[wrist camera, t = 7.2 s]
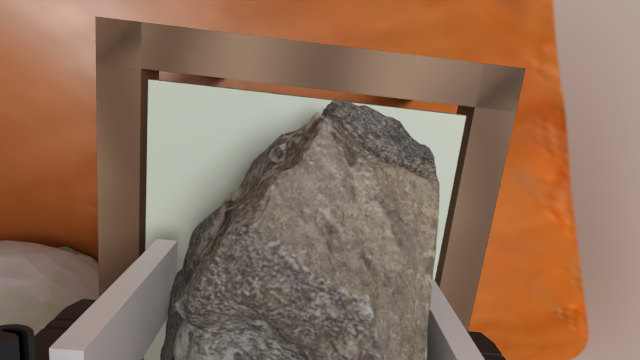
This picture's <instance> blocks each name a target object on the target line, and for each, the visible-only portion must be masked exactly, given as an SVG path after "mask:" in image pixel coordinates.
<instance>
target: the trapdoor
mask: <svg viewBox="0 0 640 360" xmlns="http://www.w3.org/2000/svg"><path fill="white" fill-rule="evenodd" d="M332 101H333V100H329V99H320V98H312V97H303V96H294V95H285V94H277V93H268V92H259V91H250V90H242V89H233V88H224V87H215V86H207V85H198V84H189V83H180V82H172V81H163V80H148V123H147V183H146V244H145V251H146V250H147V249H148V248H149V247H150V246H151V245H152V244H153V243H154V242H155V241H156V240H157V239H164V240H175V241H178V242H177V270H176V275H177V273H178V272H179V270H180V269H182V267H183V262H184V258H185V255H186V252H187V250H188V247H189V241H190V238H191V235H192V232H193V230H194V229H195V228H196V227H197V226H198V224H199V223H200V222H202V221H203V220H204V219H206V218H207V217H208V216H209V215H210V214H211V213H212V212H214V211H215V210H217V209H218V208H219V207H221V206H222V204H223V203H224V201H225V200H226V199H227V198H228V197H229V196H230V195H231V193H232V192H234V191H235V190H236V189H238V188H239V186H240V184H241V183H242V181H243V179H244V177H245V175H246V172H247V171H248V169H249V168H250V166H251V164H252V162H253V160H254V159H255V158H257V157H258V156H259V155H260V154H261V153H262V152H263V151H265V150H266V149H267V148H268V146H270V145H271V144H272V143H273V142H274V141H275V140H276V139H277V138H278V137H280V136H281V135H282V134H285V133H289V132H293V131H297V130H298V129H300V128H301V127H303V126H304V125H306V124H308V123H309V121H310V119H311V117H312V116H313V115H314V114H315V113H316V112H319V113H320V114H322V112H323V110H324V108H326V106H327V105H328V104H330V103H331V102H332ZM344 102H347V101H344ZM352 103H353V104H355V105H358V106H362V105H366V106H368V107H370V108H372V109H374V110H376V111H378V112H380V113H381V114H383V115H385V116H388V117H392V118H395V119H396V120H398V121H400V122H401V123H402V125H403V126H404V128H405V129H406V131H407V132H408V133H409V134H410V136H411V137H412V138H413V139H414V140H416V141H417V142H418V143H420V144H423V145H426V146H427V147H428V148H429V147H430V150H431V152H432V153H433V155H434V159H435V165H436V175H437V177H438V181H439V184H440V190H439V221H438V231H437V243H436V256H435V263H434V270H433V279H434V280H435V276H436V271H437V266H438V261H439V255H440V250H441V245H442V240H443V235H444V229H445V224H446V219H447V214H448V209H449V203H450V198H451V193H452V188H453V183H454V177H455V172H456V167H457V162H458V157H459V151H460V146H461V141H462V136H463V131H464V125H465V120H466V116H465V115H459V114H452V113H443V112H434V111H425V110H417V109H408V108H399V107H390V106H382V105H373V104H364V103H355V102H352ZM166 323H167V319H166V321H165V323H164V324H163V326H162V328H161V329H160V331H159V332H158V334H157V336H156V337H155V339H154V341H153V342H152V344H151V345H150V347H149V349H148V350H147V352H146V354H145V355H144V360H160V353H161V349H162V346H163V344H164V341H165V333H166Z"/></svg>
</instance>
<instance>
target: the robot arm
mask: <svg viewBox="0 0 640 360" xmlns="http://www.w3.org/2000/svg"><path fill="white" fill-rule="evenodd" d="M177 242H178V241H175V240H164V239H157V240H156V241H155V242H154V243H153V244H152V245H151V246H150V247H149V248H148V249H147V250H146V251H145V252H144V253H143V254H142V255H141V256H140V257H139V258H138V259H137V260H136V261H135V262H134V263H133V264H132V265H131V266H130V267H129V268H128V269H127V270H126V271H125V272H124V273H123V274H122V275H121V276H120V277H119V278H118V279H117V280H116V281H115V282H114V283H113V284H112V285H111V286H110V287H109V288H108V289H107V290H106V291H105V292H104V293H103V294H102V295H101V296H100V297H99V298H98V299H97V300H92V299H81V300H79V301H77V302H75V303H73V304H71V305H69V306H67V307H66V308H65V309H63V310H62V311H61V312H60V313H59V314H58V315H57V316H56V317H55V318H54V320H51V321H50V322H49V323H48V324H47V325H46V326H45V328H43V329H41V330H40V331H39V332H38V333H37V334H36V335H35V336H34V330H33V329H32V328H30V327H29V326H26V325H21V324H6V325H0V360H142V359H143V357H144V355H145V354H146V352H147V350H148V349H149V347H150V345H151V344H152V342H153V341H154V339H155V337H156V336H157V334H158V332H159V331H160V329H161V328H162V326H163V324H164V323H165V321H166V319H167V318H168V307H169V302H170V294H171V290H172V286H173V283H174V280H175V277H176V270H177ZM427 360H506V359H505V358H504V357H502V354H501V352H500V351H499V349H498V348H497V347H496V345H495V344H494V343H493V342H492V341H491V340H490V339H488V338H487V337H486V336H484V335H483V334H482V333H481V332H470V331H466V329H465V328H464V326H463V325H462V323H461V321H460V320H459V318H458V317H457V315H456V313H455V312H454V310H453V309H452V307H451V306H450V304H449V302H448V301H447V299H446V298H445V296H444V295H443V293H442V291H441V290H440V288H439V287H438V285H437V283H436V282H435V280H434V279H432V291H431V305H430V310H429V315H428V328H427Z"/></svg>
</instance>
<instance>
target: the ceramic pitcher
mask: <svg viewBox="0 0 640 360" xmlns="http://www.w3.org/2000/svg"><path fill="white" fill-rule="evenodd" d="M98 298H99V272H98V262H97V261H96V260H95V259H93V258H92V257H90V256H88V255H85V254H83V253H80V252H78V251H75V250H73V249H71V248H69V247H67V246H65V247H59V248H53V247H50V246H46V245H42V244H38V243H31V242H20V241H9V240H6V241H0V325H6V324H21V325H26V326H29V327H30V328H32V329H33V330H34V336H35V335H36V334H37V333H38V332H39V331H40V330H41V329H43V328H45V326H46V325H47V324H48V323H49V322H50V321H51V320H54V318H55V317H56V316H57V315H58V314H59V313H60V312H61V311H62V310H63V309H65V308H66V307H67V306H69V305H71V304H73V303H75V302H77V301H79V300H81V299H92V300H97V299H98Z"/></svg>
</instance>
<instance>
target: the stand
mask: <svg viewBox="0 0 640 360" xmlns="http://www.w3.org/2000/svg"><path fill="white" fill-rule="evenodd" d="M525 69H526V68H517V67H509V66H501V65H492V64H484V63H476V62H468V61H459V60H451V59H443V58H434V57H426V56H418V55H410V54H401V53H393V52H385V51H376V50H368V49H360V48H352V47H343V46H335V45H327V44H318V43H310V42H302V41H294V40H285V39H277V38H269V37H260V36H252V35H244V34H235V33H227V32H219V31H211V30H202V29H194V28H186V27H177V26H169V25H161V24H153V23H144V22H136V21H128V20H119V19H111V18H103V17H96V100H97V186H98V272H99V297H100V296H101V295H102V294H103V293H104V292H105V291H106V290H107V289H108V288H109V287H110V286H111V285H112V284H113V283H114V282H115V281H116V280H117V279H118V278H119V277H120V276H121V275H122V274H123V273H124V272H125V271H126V270H127V269H128V268H129V267H130V266H131V265H132V264H133V263H134V262H135V261H136V260H137V259H138V258H139V257H140V256H141V255H142V254H143V253H144V252H145V244H146V183H147V123H148V80H159V71H166V72H174V73H183V74H192V75H200V76H209V77H218V78H226V79H235V80H244V81H252V82H261V83H270V84H278V85H287V86H296V87H304V88H313V89H322V90H330V91H339V92H348V93H356V94H365V95H374V96H382V97H391V98H400V99H408V100H417V101H426V102H434V103H443V104H452V105H458V109H457V114H459V115H465V116H466V120H465V125H464V131H463V136H462V141H461V146H460V151H459V157H458V162H457V167H456V172H455V177H454V183H453V188H452V193H451V198H450V203H449V209H448V214H447V219H446V224H445V229H444V235H443V240H442V245H441V250H440V255H439V261H438V266H437V271H436V276H435V282H436V283H437V285H438V287H439V288H440V290H441V291H442V293H443V295H444V296H445V298H446V299H447V301H448V302H449V304H450V306H451V307H452V309H453V310H454V312H455V313H456V315H457V317H458V318H459V320H460V321H461V323H462V325H463V326H464V328H465V329H466V331H468V329H469V325H470V320H471V316H472V311H473V306H474V302H475V297H476V293H477V288H478V284H479V279H480V275H481V270H482V265H483V261H484V256H485V252H486V247H487V243H488V238H489V234H490V229H491V224H492V220H493V215H494V211H495V206H496V202H497V197H498V192H499V188H500V183H501V179H502V174H503V170H504V165H505V161H506V156H507V151H508V147H509V142H510V138H511V133H512V129H513V124H514V120H515V115H516V110H517V106H518V101H519V97H520V92H521V88H522V83H523V78H524V74H525ZM142 360H144V357H143V359H142Z"/></svg>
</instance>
